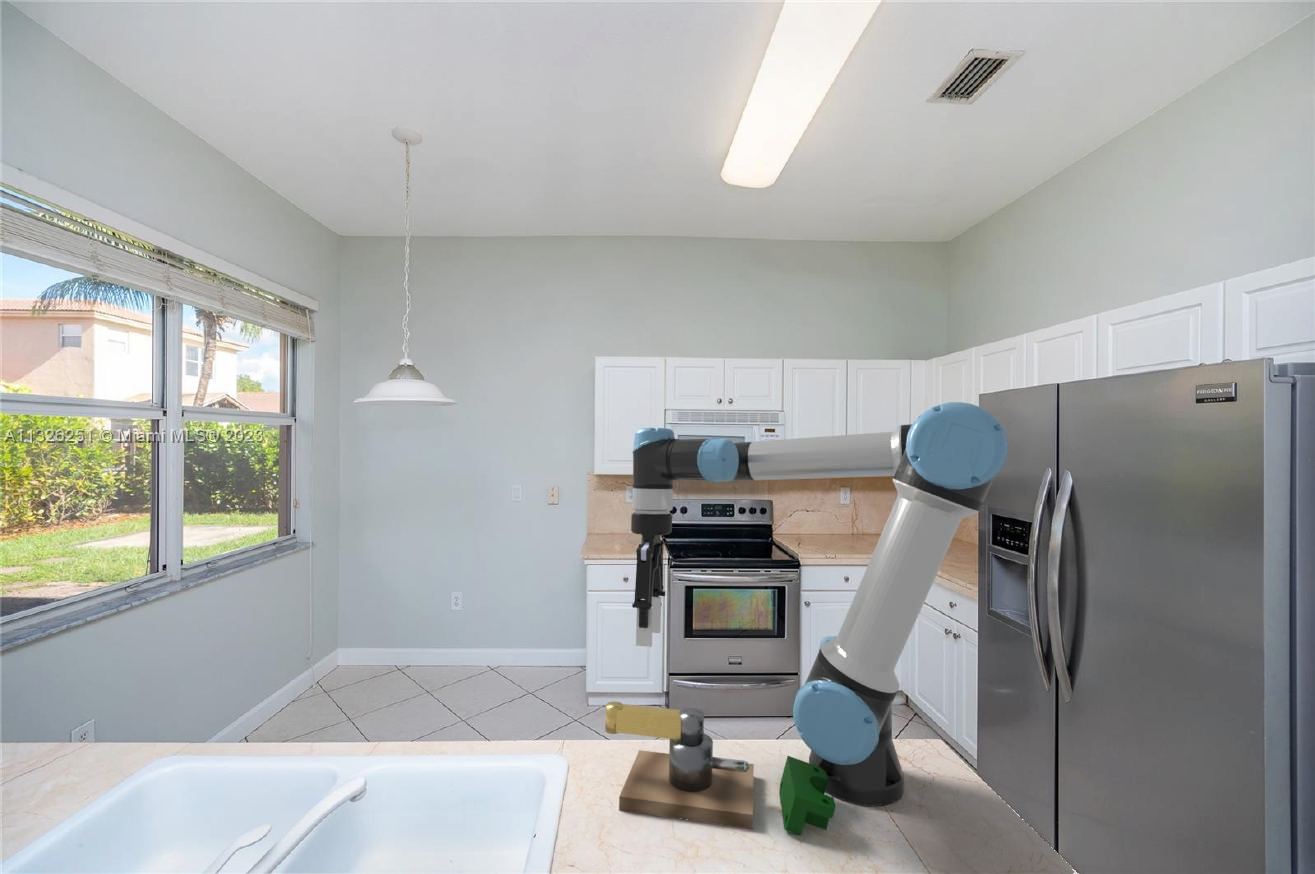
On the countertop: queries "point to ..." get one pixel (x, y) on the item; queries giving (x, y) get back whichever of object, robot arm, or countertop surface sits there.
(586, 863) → the countertop surface
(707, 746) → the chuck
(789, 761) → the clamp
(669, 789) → the stand
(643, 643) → the robot arm
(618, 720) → the yellow bar
